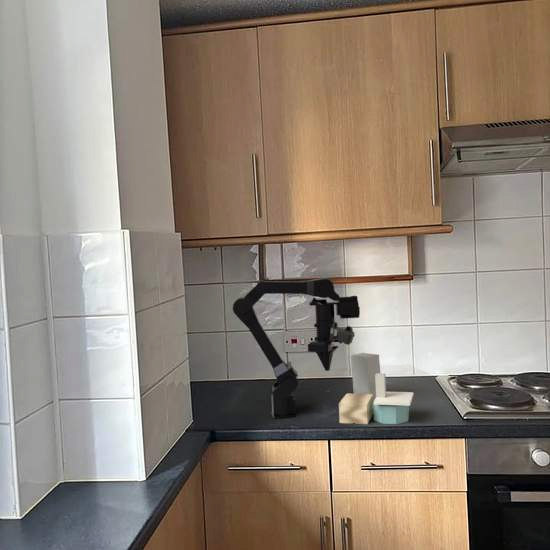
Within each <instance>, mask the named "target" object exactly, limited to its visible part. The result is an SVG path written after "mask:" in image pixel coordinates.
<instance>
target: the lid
mask: <svg viewBox="0 0 550 550" xmlns="http://www.w3.org/2000/svg"><path fill="white" fill-rule="evenodd" d="M386 378H387V376H386V373H384V372H383V373H381V372H380V373H376V375H375V384H376V398H375V400H374V401H373V403H374V404H376V405H406V406H409V407H410V406H411V404H412V402H413V398H414V394H415V393H414V392H411V391H410V392H408V391H387V380H386Z"/></svg>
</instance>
